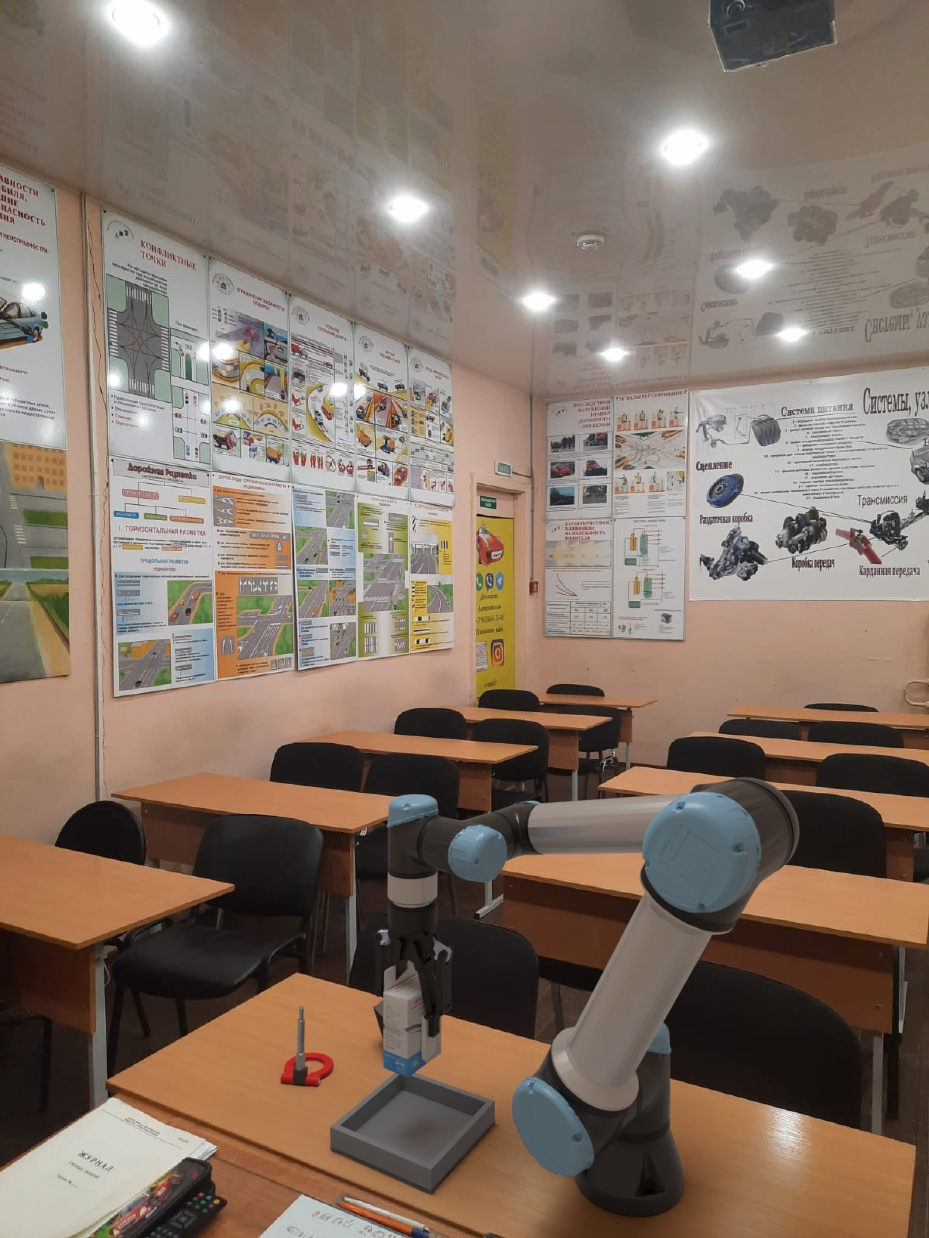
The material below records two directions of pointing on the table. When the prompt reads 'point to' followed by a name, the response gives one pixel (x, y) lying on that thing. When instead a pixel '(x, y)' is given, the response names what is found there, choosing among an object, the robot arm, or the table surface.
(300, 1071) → the tow hook
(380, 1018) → the electrical switch
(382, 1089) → the tray
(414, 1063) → the ink box
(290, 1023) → the table surface
